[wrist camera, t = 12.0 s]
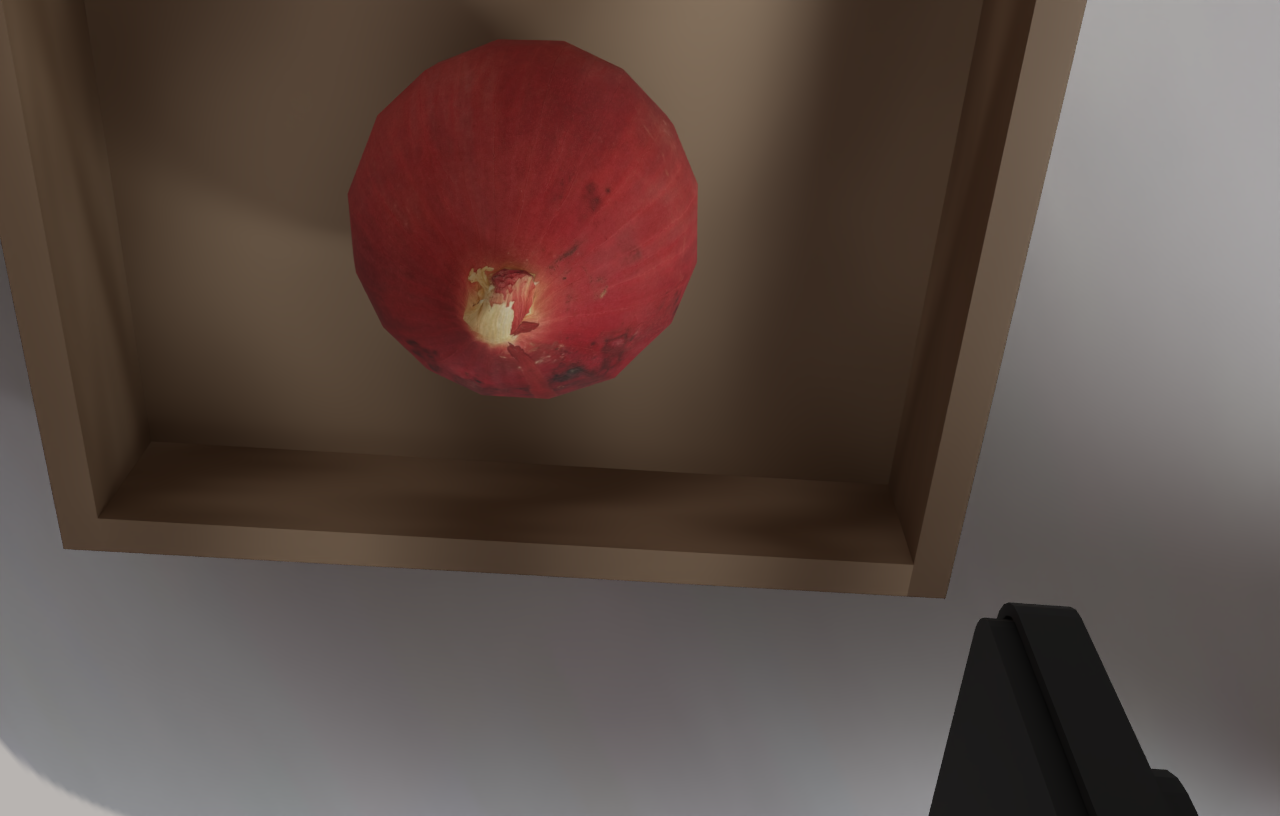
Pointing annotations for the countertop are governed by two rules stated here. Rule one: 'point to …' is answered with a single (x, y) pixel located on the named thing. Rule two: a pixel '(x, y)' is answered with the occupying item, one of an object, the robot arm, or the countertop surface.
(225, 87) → the holder tray
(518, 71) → the onion
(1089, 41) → the countertop surface
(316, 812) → the countertop surface
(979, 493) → the countertop surface
